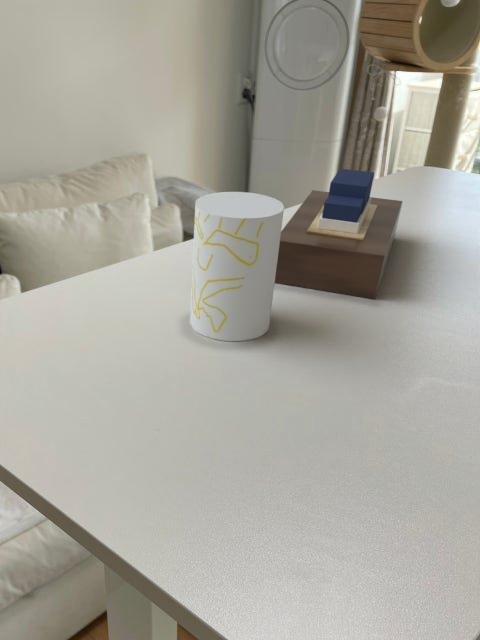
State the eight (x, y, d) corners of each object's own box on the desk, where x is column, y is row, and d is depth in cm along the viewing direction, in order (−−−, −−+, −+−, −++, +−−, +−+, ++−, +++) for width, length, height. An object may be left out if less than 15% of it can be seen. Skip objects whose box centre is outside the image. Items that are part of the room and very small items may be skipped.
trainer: (333, 203, 84) (339, 167, 81) (369, 207, 82) (376, 171, 80) (317, 228, 75) (323, 189, 73) (357, 233, 74) (365, 194, 72)
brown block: (307, 226, 92) (312, 188, 89) (394, 238, 89) (403, 199, 86) (269, 281, 75) (274, 238, 72) (374, 299, 72) (385, 254, 69)
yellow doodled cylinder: (173, 323, 66) (177, 204, 59) (220, 299, 71) (229, 186, 64) (239, 349, 62) (251, 224, 55) (284, 321, 67) (300, 203, 60)
